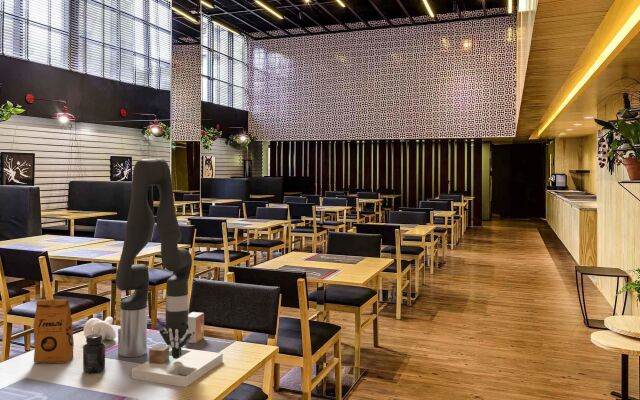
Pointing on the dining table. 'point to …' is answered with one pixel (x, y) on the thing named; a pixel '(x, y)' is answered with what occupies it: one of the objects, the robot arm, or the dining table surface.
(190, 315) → the small box
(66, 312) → the coffee package
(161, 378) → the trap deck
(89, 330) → the white lumpy figure
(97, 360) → the supplement bottle
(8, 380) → the dining table surface
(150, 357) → the walnut block
